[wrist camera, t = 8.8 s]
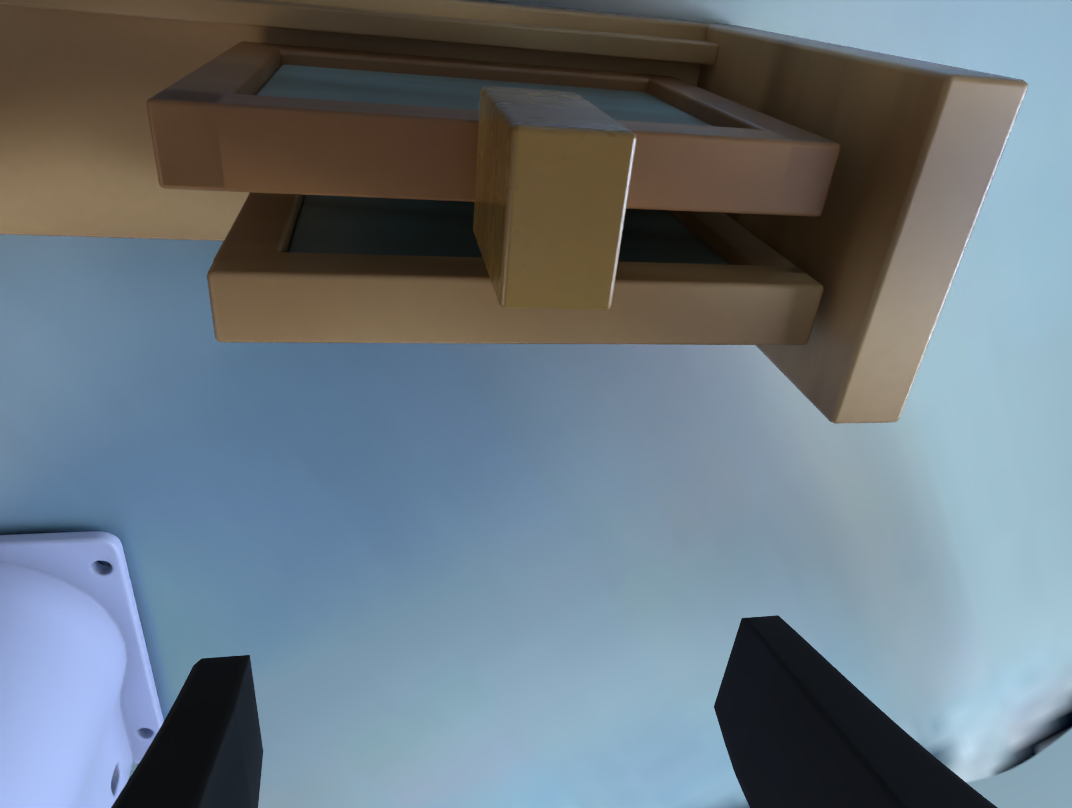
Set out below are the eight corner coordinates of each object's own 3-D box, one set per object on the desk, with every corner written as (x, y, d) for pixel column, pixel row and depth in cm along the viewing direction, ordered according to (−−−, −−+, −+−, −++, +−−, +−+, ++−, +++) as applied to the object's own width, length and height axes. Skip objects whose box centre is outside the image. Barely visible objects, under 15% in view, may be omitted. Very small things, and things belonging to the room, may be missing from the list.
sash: (661, 144, 16) (923, 316, 9) (247, 119, 15) (97, 305, 7) (676, 55, 16) (983, 155, 8) (236, 16, 14) (52, 95, 6)
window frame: (694, 241, 19) (899, 424, 12) (-222, 209, 15) (-808, 458, 8) (738, 25, 17) (1034, 81, 9) (-340, -81, 13) (-1379, -134, 5)
